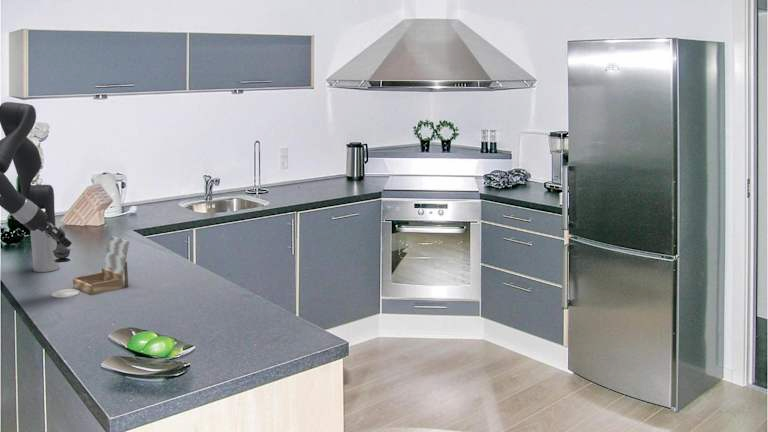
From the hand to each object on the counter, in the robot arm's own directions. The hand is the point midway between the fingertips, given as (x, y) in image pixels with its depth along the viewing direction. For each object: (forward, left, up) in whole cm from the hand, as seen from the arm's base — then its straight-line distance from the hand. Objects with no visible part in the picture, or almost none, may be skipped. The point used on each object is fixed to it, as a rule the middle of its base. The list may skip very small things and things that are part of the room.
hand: (66, 244), depth 284 cm
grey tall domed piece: (0, -2, -6) cm, 6 cm away
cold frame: (0, +12, -18) cm, 21 cm away
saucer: (0, -2, -18) cm, 18 cm away
